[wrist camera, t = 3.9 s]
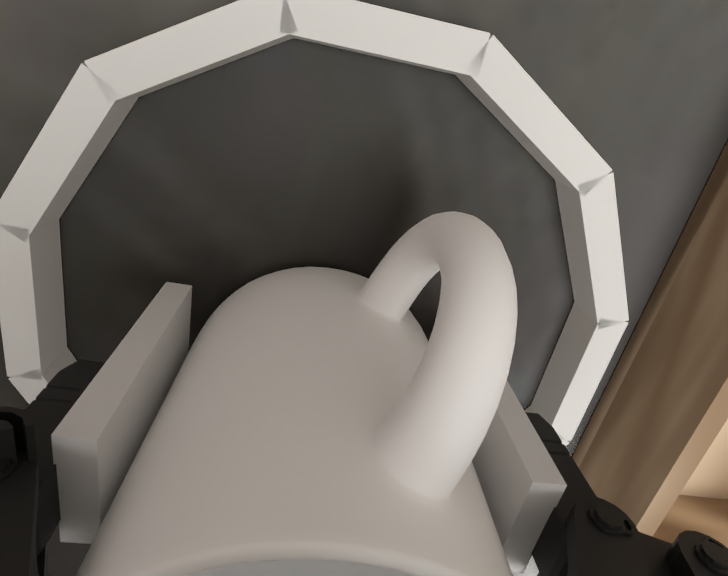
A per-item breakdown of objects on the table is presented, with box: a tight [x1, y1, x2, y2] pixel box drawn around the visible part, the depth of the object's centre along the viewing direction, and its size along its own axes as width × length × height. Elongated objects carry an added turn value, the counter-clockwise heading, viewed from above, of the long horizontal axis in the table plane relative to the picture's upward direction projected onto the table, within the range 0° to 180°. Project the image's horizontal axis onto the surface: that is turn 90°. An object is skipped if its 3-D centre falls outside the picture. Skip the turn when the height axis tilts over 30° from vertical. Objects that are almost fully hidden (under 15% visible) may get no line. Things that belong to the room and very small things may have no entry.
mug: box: [75, 211, 518, 576], centre depth 12 cm, size 12×8×10 cm
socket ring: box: [0, 0, 629, 446], centre depth 16 cm, size 19×19×2 cm
